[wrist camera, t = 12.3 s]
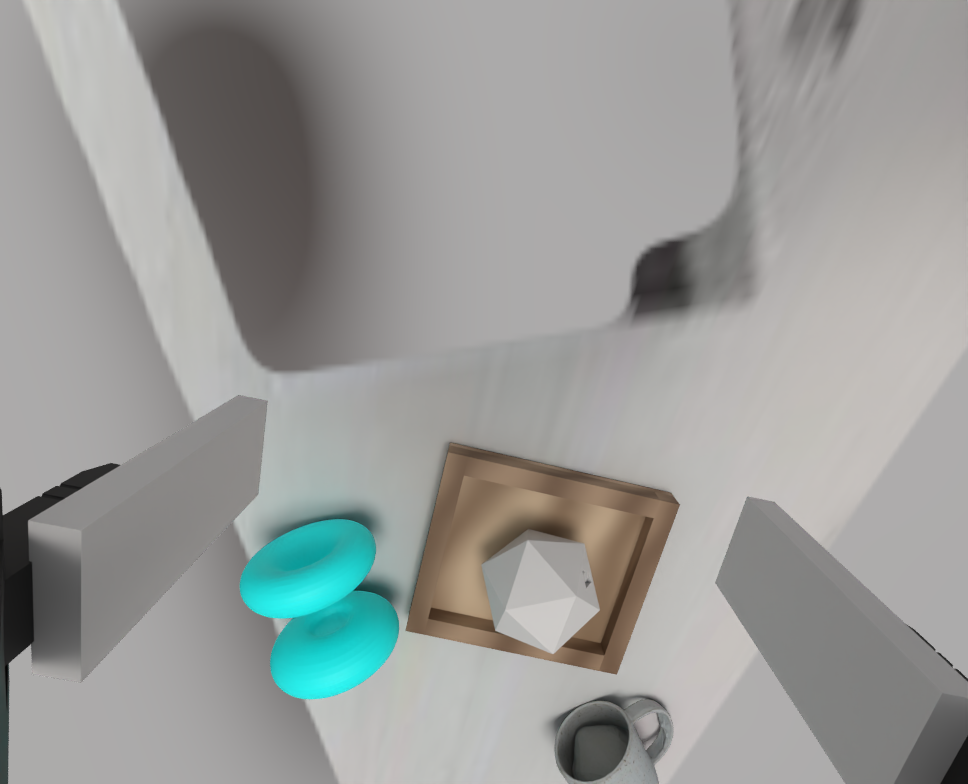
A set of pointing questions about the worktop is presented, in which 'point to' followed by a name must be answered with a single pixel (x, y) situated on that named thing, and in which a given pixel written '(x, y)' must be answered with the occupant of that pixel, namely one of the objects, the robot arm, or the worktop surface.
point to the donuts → (321, 608)
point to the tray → (548, 509)
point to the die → (540, 589)
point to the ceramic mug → (610, 744)
